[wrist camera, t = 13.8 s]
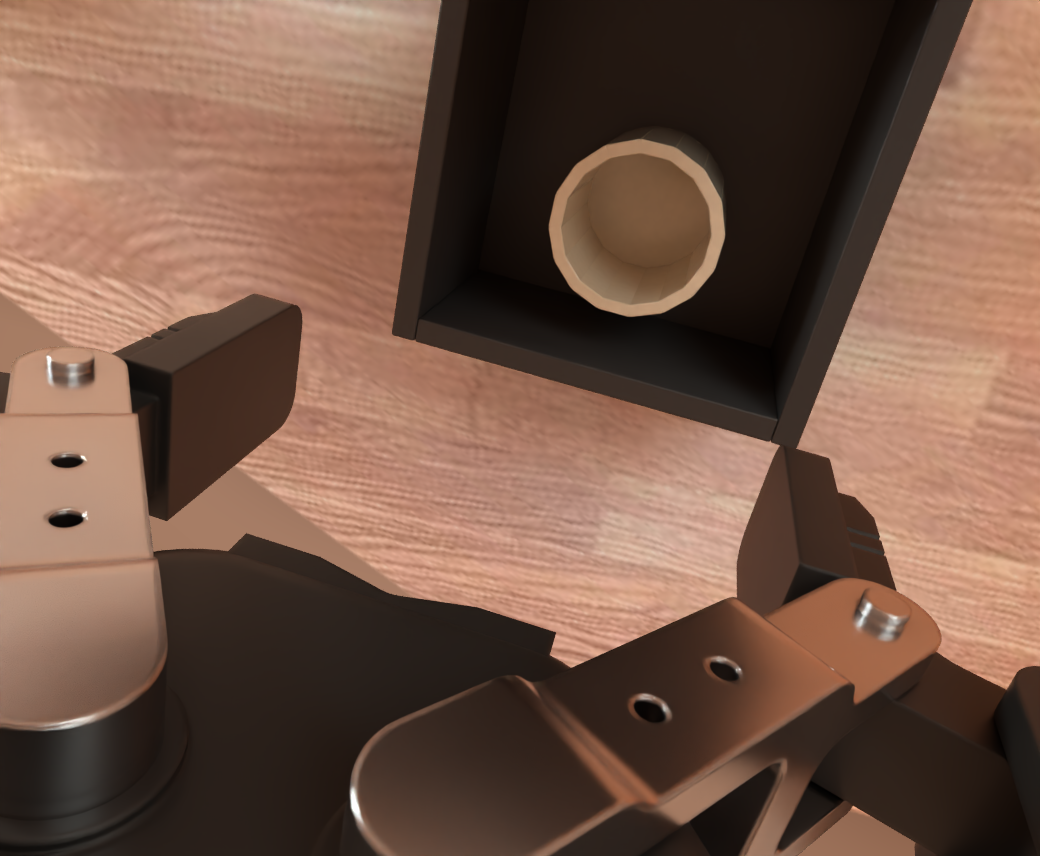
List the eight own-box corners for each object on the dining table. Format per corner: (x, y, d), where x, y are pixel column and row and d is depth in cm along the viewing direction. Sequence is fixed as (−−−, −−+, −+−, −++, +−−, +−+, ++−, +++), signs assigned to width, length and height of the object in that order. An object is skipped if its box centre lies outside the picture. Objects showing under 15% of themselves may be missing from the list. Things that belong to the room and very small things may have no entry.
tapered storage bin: (783, 366, 37) (796, 450, 29) (461, 278, 39) (390, 335, 31) (933, -40, 30) (1002, -74, 22) (534, -124, 32) (467, -183, 24)
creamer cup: (566, 254, 37) (533, 291, 31) (599, 110, 34) (571, 121, 28) (701, 290, 36) (694, 335, 30) (746, 145, 33) (747, 165, 27)
